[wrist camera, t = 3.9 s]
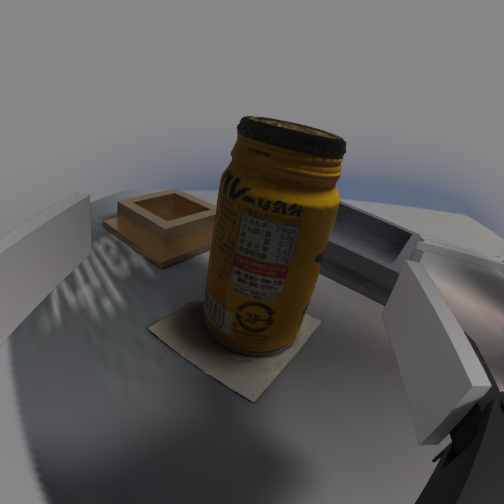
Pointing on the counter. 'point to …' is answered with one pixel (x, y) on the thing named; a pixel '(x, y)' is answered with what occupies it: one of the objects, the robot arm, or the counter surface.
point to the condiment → (262, 255)
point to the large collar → (368, 252)
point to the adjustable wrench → (461, 253)
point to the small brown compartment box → (164, 226)
